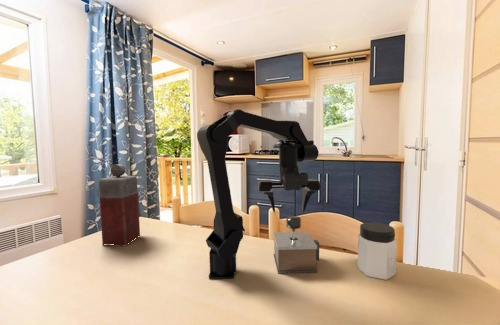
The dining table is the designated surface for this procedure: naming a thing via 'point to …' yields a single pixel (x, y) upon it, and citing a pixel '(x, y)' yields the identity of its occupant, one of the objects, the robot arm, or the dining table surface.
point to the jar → (377, 250)
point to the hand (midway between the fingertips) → (288, 212)
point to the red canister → (119, 207)
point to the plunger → (293, 224)
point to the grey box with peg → (295, 252)
